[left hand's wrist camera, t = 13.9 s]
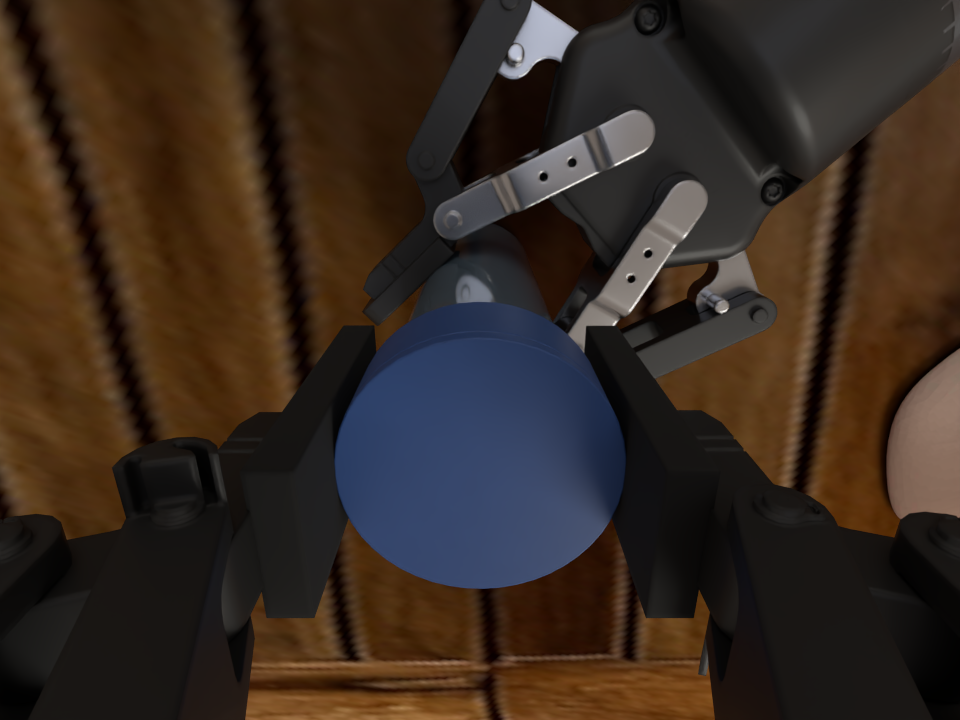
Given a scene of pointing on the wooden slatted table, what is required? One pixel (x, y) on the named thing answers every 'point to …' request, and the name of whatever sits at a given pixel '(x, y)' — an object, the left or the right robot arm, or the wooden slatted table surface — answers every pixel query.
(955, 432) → the anatomical model
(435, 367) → the lid
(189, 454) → the left robot arm
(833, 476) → the wooden slatted table surface
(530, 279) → the jar
